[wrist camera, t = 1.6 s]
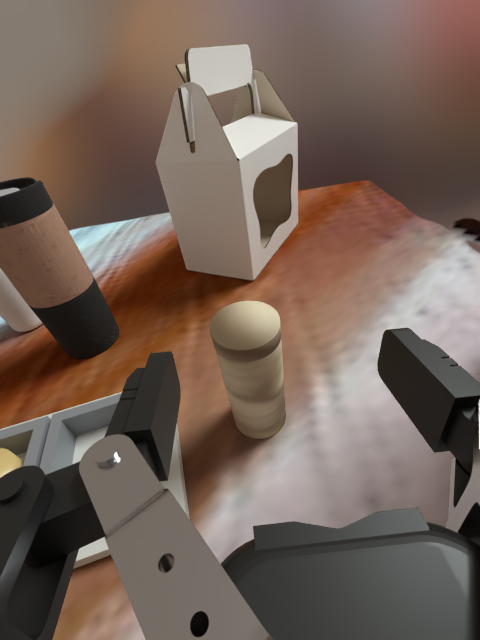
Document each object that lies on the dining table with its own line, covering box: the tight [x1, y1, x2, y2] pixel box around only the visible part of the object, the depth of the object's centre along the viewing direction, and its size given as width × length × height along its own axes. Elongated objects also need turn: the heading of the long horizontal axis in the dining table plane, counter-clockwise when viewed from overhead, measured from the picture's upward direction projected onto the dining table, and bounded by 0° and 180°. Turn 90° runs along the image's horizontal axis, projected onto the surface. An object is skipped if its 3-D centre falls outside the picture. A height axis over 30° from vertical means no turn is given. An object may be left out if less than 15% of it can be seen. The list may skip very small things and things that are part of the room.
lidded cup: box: [210, 301, 286, 439], centre depth 25 cm, size 5×5×12 cm
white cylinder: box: [0, 268, 43, 332], centre depth 41 cm, size 7×7×15 cm
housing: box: [0, 392, 190, 569], centre depth 25 cm, size 21×14×4 cm, turn 106°
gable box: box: [156, 44, 298, 281], centre depth 47 cm, size 22×13×28 cm, turn 153°
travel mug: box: [0, 177, 119, 359], centre depth 34 cm, size 8×8×20 cm
